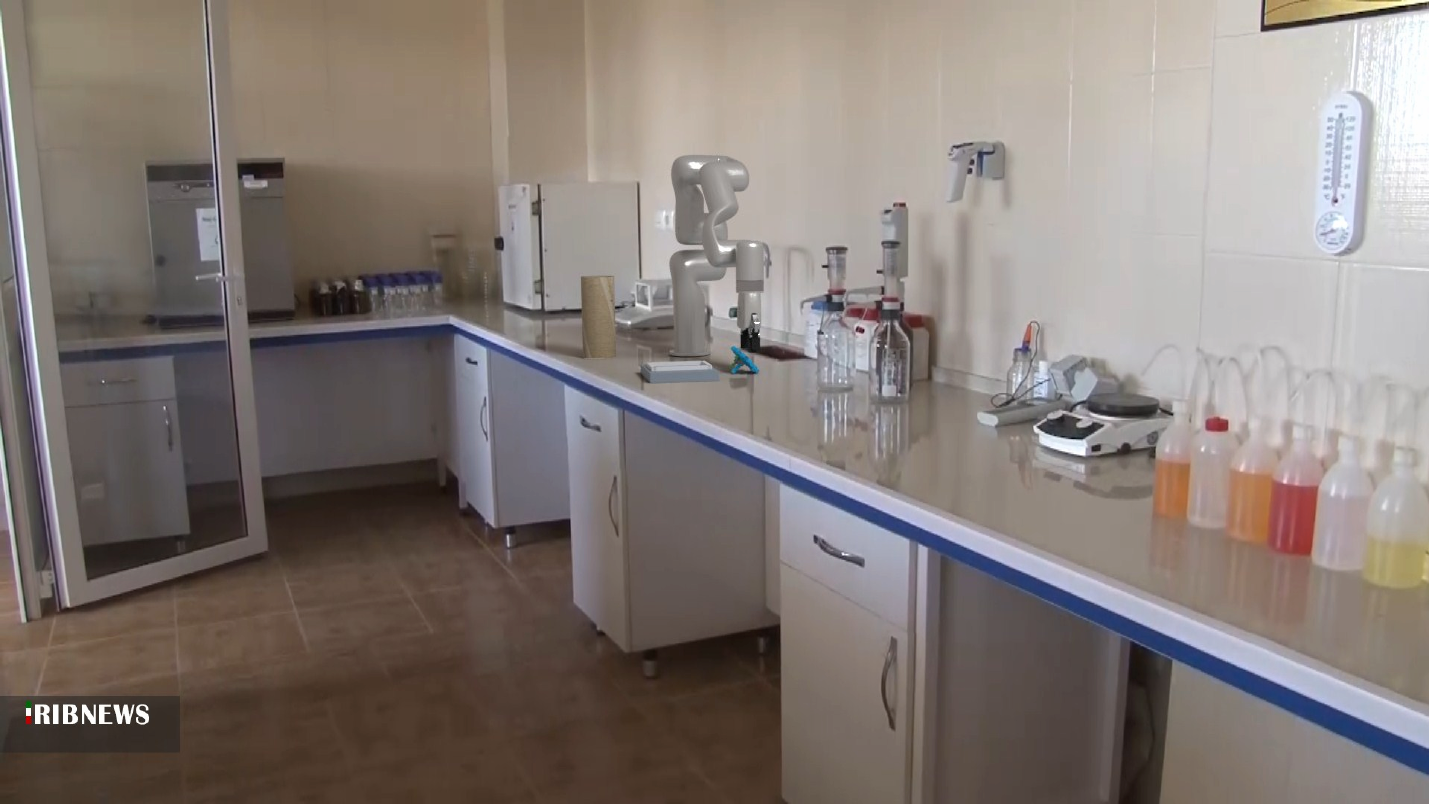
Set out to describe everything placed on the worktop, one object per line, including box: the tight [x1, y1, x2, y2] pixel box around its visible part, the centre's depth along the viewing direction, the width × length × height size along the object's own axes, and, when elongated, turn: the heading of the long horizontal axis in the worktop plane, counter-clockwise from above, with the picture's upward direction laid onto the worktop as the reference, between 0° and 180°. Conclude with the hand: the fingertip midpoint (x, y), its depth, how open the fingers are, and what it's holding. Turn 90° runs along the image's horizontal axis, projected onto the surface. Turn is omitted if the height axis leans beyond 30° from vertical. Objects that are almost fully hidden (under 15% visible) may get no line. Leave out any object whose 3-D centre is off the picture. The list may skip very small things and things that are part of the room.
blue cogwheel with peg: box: [728, 345, 760, 375], centre depth 311 cm, size 11×6×10 cm
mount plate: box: [640, 360, 720, 384], centre depth 307 cm, size 20×18×4 cm
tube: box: [580, 275, 617, 359], centre depth 348 cm, size 10×10×25 cm
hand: (750, 350), depth 312 cm, fingers open, 9 cm apart
